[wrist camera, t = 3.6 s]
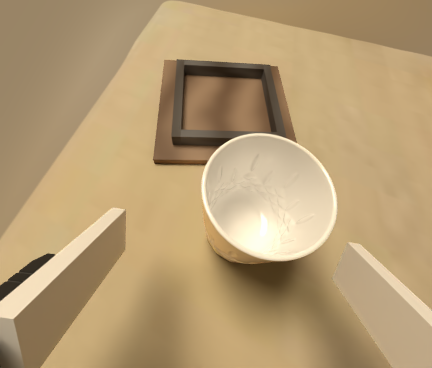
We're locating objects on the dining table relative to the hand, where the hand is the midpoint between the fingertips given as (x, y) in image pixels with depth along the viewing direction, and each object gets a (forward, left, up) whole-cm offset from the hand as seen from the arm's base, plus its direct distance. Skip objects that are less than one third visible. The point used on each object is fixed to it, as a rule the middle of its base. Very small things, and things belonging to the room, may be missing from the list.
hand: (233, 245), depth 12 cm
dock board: (-2, -19, -8) cm, 20 cm away
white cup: (-2, -3, -8) cm, 9 cm away
